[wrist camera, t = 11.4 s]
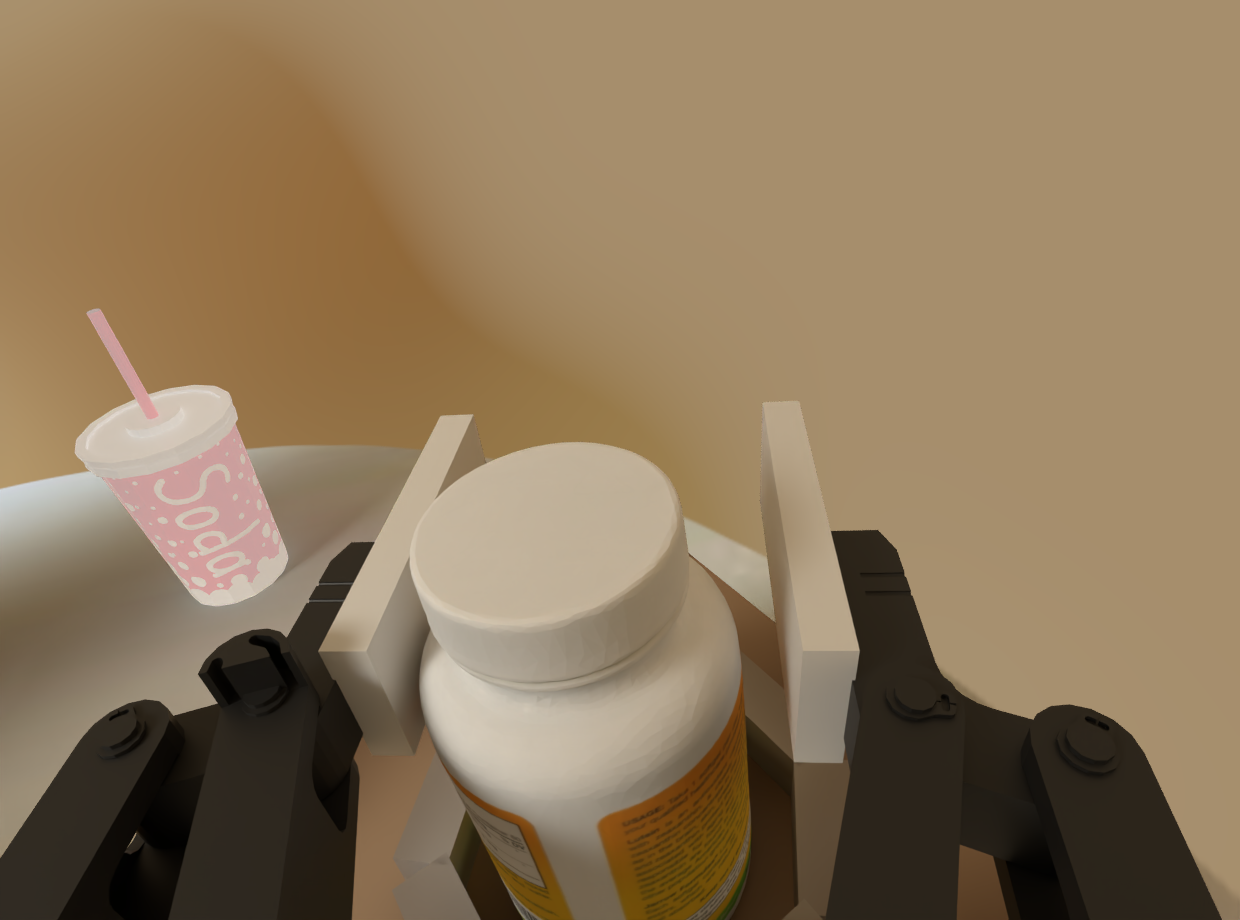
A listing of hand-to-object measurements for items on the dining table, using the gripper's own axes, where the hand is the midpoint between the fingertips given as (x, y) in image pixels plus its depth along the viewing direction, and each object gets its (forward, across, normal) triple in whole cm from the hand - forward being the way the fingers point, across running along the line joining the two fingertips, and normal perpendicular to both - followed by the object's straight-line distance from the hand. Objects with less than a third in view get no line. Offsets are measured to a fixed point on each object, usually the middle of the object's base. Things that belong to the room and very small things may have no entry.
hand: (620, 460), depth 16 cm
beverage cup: (+11, -21, -14) cm, 28 cm away
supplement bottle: (-5, 0, -7) cm, 9 cm away
